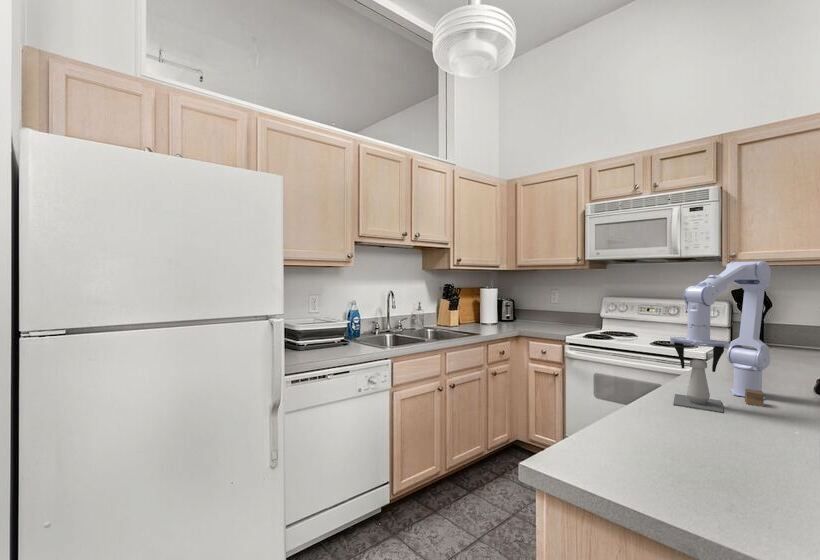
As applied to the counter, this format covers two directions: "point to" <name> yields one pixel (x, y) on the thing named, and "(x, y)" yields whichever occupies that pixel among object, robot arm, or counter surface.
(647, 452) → the counter surface
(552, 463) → the counter surface
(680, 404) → the rubber mat
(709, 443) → the counter surface
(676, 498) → the counter surface
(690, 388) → the salt shaker
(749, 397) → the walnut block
